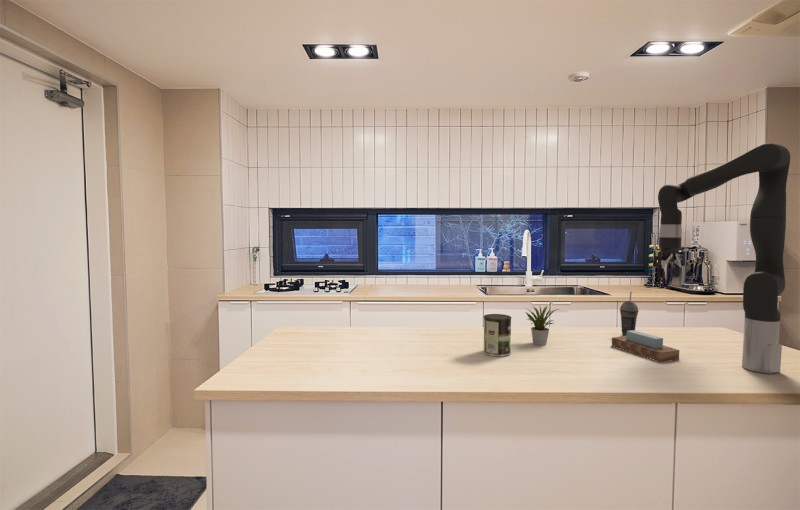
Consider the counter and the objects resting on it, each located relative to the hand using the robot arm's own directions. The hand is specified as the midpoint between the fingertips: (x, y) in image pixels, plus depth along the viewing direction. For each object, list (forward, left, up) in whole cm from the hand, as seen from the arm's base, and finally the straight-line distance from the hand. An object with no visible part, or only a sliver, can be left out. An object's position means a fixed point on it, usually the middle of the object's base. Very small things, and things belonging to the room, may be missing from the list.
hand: (668, 277), depth 173 cm
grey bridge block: (-2, +14, -28) cm, 31 cm away
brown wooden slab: (-2, +14, -28) cm, 31 cm away
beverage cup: (+18, 0, -28) cm, 34 cm away
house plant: (+22, +42, -28) cm, 55 cm away
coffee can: (+17, +67, -28) cm, 75 cm away
